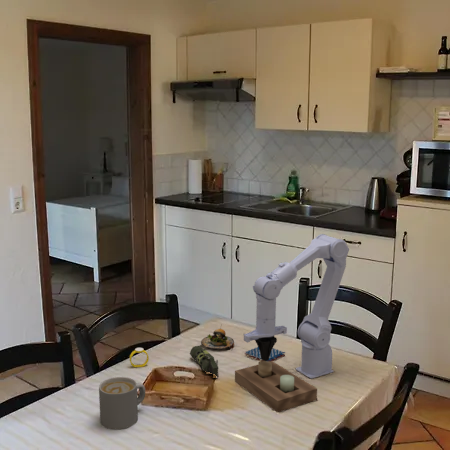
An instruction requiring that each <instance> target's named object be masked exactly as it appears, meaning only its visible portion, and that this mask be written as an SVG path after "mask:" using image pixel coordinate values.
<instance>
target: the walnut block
mask: <svg viewBox="0 0 450 450" xmlns="http://www.w3.org/2000/svg"><path fill="white" fill-rule="evenodd" d="M270 362H271V363H272V373H271V376H269V377H266V378H265V377H260V376H259V375H258V364H255V365H252V366H248V367H244V368H240V369H237V370H234V382H235V383H236V384H238V385H239V386H241V387H242V388H243V389H244V390H245V391H247V392H249V393H250V394H251V395H252V396H254V397H256V398H257V399H258V400H260V401H261V402H262V403H264V404H265V405H266V406H267V407H269V408H271V409H272V410H273V411H274V412H275V413H280V412H284V411H286V410H287V411H288V410H290V409H294V408H297V407H299V406H303V405H307V404H308V403H312V402H314V401H317V400H318V388H316V387H315V386H313V385H311V384H310V383H309V382H307V381H305V380H304V379H302V378H300V377H299V376H297V375H296V374H294V373H293V372H291V371H289V370H287V369H286V368H284V367H283V366H281V365H279V364H278V363H276V362H275V361H270ZM282 375H291V376H293V377H294V391H292V392H283V391H281V390H280V377H281V376H282Z"/></svg>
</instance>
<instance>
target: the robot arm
mask: <svg viewBox="0 0 450 450" xmlns="http://www.w3.org/2000/svg"><path fill="white" fill-rule="evenodd" d="M349 251H350V248H349V246H348V244H347V242H346V241H345V240H344V239H341V238H338V237H337V238H336V237H334V236H333V237H332V236H329V235H327V234H324V233H320V234H318V235H317V236H316V237H315V238H313V239H311V241H310V244H309V245H308V246H307V247H306V248H304V250H303V251H301V252H300V253H299V254H298V255H297V256H296V257H295V258H293V259H292V260H291V261H290V262H288V261H284V262H280V263H279V264H278V266H277V267H276V268H275V269H273V270H271V272H268V273H266V275H263V276H260V277H258V278H257V279H256V280H255V282H254V284H253V285H252V289H253V292H254V293H255V298H256V312H255V313H256V315H255V317H256V319H255V320H256V321H255V323H256V324H255V326H256V327H255V329H253V330H252V331H250V332H247V333H243V341H244V342H246V343H247V344H248V343H251V341H255V343H256V345H257V347H258V348H259V351H260V355H261V359H262V360H264V361H268V360H269V357H270V354H271V351H272V348H274V346H275V345H276V343H277V341H278V338H277V337H275V336H276V335H277V336H278V335H280V334H283V335H287V332H288V327H287V326H285V325H277V326H276V316H277V313H276V311H277V306H276V305H277V298H278V297H279V295H280V294H281V290H283V288H284V287H285V286H286V285H288V284H289V283H290V282H292V281H293V280H294V279H296V277H297V274H298V271H300V270H302V269H303V268H304V267H306V266H307V265H309V264H311V263H312V262H314V261H315V260H317V259H323V261H324V263H325V266H326V269H325V271H324V274H323V278H322V281H321V283H320V286H319V290H318V292H317V295H316V298H315V301H314V304H313V307H312V311H310V312H311V313H309V314H307V315H305V316H304V317H303V320H302V322H301V323H300V324H299V326H298V329H297V336H298V337H299V339H300V343H301V361H300V362H301V365H300V366H297V367H295V370H296V371H297V372H299V373H301V374H303V376H306V377H308V378H309V379H314V378H317V377H321V376H325V375H328V374H331V373H334V369H333V349H332V347H331V345H330V341H331V331H332V329H333V328H332V325H331V323H330V321H329V317H330V314H331V311H332V308H333V306H334V303H335V299H336V297H337V293H338V290H339V288H340V286H341V281H342V279H343V276H344V273H345V271H346V267H347V256H348V254H349Z"/></svg>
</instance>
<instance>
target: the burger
mask: <svg viewBox="0 0 450 450" xmlns="http://www.w3.org/2000/svg"><path fill="white" fill-rule="evenodd" d="M220 326H222V324H221V325H220ZM212 334H213V335H211V334H210V333H209V334H207V336H205V337H204V338H202V339H201V341H200V343H201V345H203V346H205V347H207V348H209V349H214V350H223V349H227V348H229V349H228V350H232V349H234V346H235V341H234V339H233V338H232V337H230V336H226V331H225V330H224V329H223V328H217V329H215V330H213V332H212Z"/></svg>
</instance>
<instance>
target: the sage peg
mask: <svg viewBox="0 0 450 450" xmlns="http://www.w3.org/2000/svg"><path fill="white" fill-rule="evenodd" d="M280 390H281V391H283V392H292V391H294V377H293V376H291V375H282V376H281V377H280Z"/></svg>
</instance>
